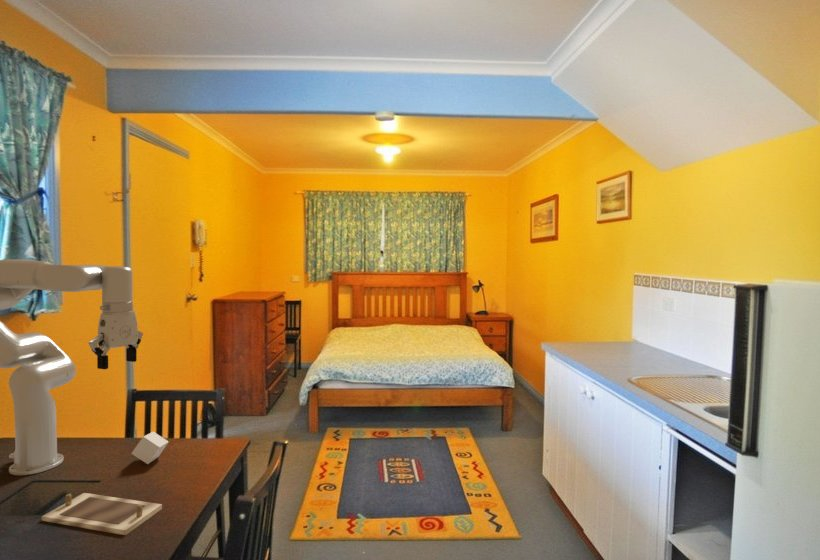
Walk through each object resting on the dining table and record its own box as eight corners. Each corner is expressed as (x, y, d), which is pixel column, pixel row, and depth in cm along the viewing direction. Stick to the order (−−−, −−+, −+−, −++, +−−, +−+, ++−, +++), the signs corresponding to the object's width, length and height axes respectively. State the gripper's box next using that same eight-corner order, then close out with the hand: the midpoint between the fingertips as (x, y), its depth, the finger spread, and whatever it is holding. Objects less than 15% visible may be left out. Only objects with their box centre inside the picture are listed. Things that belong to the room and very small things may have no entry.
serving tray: (41, 521, 106) (41, 506, 106) (84, 497, 117) (83, 483, 116) (125, 535, 101) (125, 519, 101) (162, 508, 112) (161, 494, 111)
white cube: (141, 447, 140) (153, 431, 140) (157, 458, 140) (169, 441, 141) (131, 453, 134) (143, 436, 134) (147, 464, 134) (159, 447, 135)
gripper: (101, 311, 121) (101, 373, 122) (151, 305, 138) (151, 359, 138) (79, 310, 123) (79, 370, 123) (131, 304, 139) (131, 357, 140)
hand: (117, 364), depth 131 cm, fingers open, 9 cm apart
